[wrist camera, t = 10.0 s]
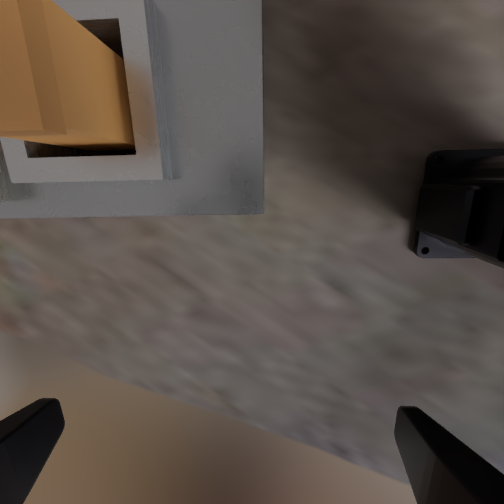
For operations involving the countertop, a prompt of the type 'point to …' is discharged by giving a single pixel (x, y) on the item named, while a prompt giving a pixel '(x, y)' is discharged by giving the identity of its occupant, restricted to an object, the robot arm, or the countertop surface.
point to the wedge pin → (60, 81)
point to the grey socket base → (160, 118)
